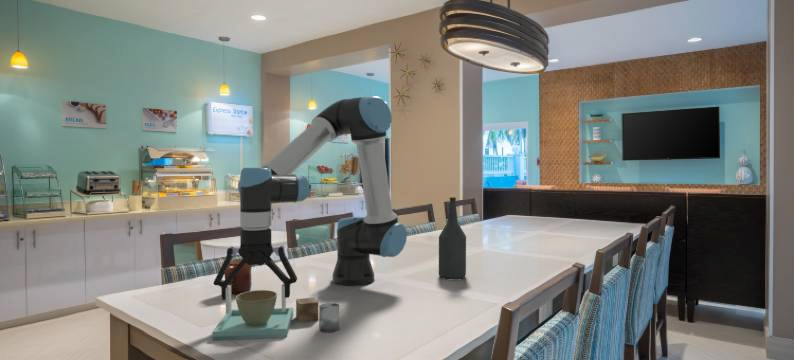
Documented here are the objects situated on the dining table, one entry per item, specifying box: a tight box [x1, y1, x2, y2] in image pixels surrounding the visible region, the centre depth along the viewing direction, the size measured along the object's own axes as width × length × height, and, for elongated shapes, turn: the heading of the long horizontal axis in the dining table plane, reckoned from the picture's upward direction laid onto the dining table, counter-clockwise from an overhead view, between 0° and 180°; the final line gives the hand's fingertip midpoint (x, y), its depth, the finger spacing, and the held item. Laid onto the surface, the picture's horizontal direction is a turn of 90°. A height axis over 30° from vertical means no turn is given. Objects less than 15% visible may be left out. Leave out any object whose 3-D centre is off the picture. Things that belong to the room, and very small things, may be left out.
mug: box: [224, 257, 253, 296], centre depth 146 cm, size 12×9×10 cm
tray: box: [211, 306, 294, 341], centre depth 116 cm, size 17×17×2 cm
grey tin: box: [318, 302, 340, 334], centre depth 114 cm, size 5×5×6 cm
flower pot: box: [235, 289, 278, 326], centre depth 116 cm, size 10×10×7 cm
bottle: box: [438, 196, 467, 280], centre depth 170 cm, size 10×10×30 cm
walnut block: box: [295, 297, 319, 324], centre depth 122 cm, size 5×5×5 cm
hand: (256, 311), depth 116 cm, fingers open, 13 cm apart
